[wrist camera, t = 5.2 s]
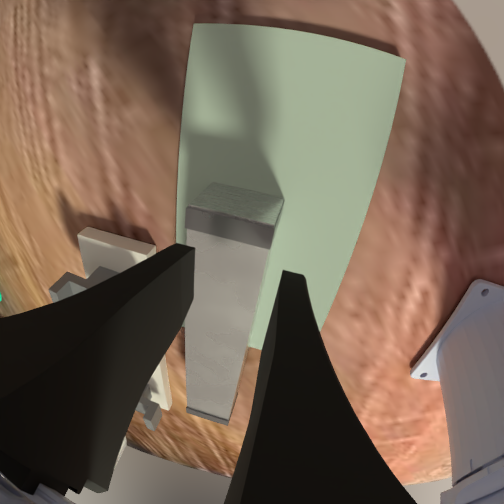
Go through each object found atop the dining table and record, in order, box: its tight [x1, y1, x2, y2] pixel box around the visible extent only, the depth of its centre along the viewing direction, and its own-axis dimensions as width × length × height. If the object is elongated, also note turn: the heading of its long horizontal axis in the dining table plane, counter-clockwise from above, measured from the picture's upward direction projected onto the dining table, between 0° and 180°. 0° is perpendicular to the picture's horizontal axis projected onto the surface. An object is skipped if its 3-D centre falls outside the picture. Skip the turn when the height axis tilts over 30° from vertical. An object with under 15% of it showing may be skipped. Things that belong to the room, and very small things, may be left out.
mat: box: [176, 23, 406, 350], centre depth 13 cm, size 8×16×1 cm, turn 172°
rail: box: [185, 182, 285, 426], centre depth 15 cm, size 3×16×3 cm, turn 171°
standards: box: [49, 227, 172, 431], centre depth 19 cm, size 5×18×4 cm, turn 172°
